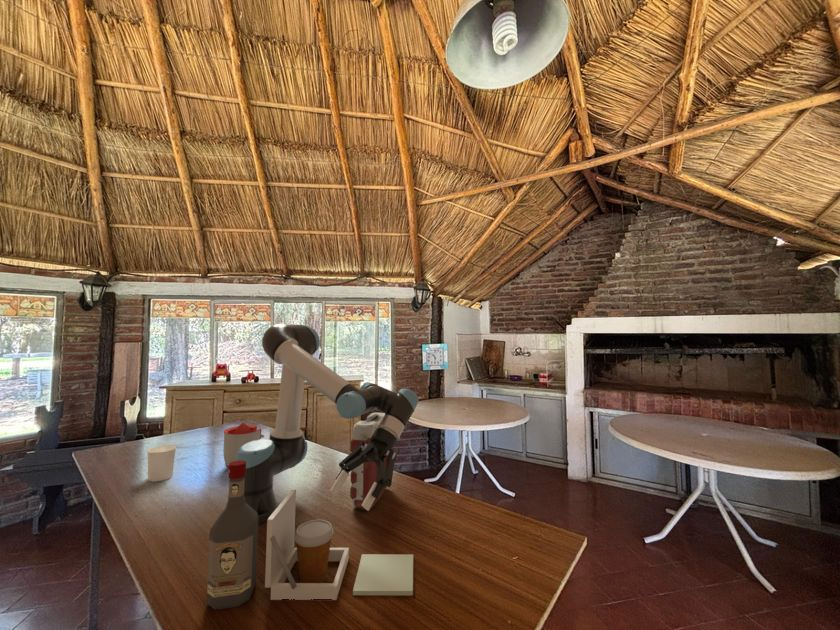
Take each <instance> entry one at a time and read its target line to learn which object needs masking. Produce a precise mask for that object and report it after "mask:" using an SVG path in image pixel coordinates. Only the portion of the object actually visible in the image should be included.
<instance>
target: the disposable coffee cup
mask: <svg viewBox="0 0 840 630" xmlns="http://www.w3.org/2000/svg"><path fill="white" fill-rule="evenodd" d="M334 532H335V531H334V528H333V525H332V523H331V522H330V521H329V520H326V519H311V520H308V521H305V522H303V523H301V524H299V525H298V527H297V528H296V529H295V535H294V542H295V545H296V547H297V556H298V561H297V565H298V566H297V567H298V574H299V575H298V576H299V583H324V582H323V581H324V580H326V577H327V571H328V564H329V561H328V558H329V551H330V548H331V543H332V542H331V541H332V538H333V535H334Z"/></svg>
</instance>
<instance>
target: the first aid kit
mask: <svg viewBox="0 0 840 630" xmlns="http://www.w3.org/2000/svg"><path fill="white" fill-rule="evenodd" d="M384 415H385V413H382V412H372V413H370V414H369V415H367V417H366V419H365V420H358V422H356V423H355V424H354V425H353V428H352V439H351V440H350V450H349V451H350V453H352V452H353V451H354V450H355V449H356V448H357V447H358V446H359V445H360V443H361V442H362V441H364V442H365V444H367V445H368V444H369V443H370V442H371V436H372V435H373V433H374V432H375V430H376V428H378V425H379V423H380V422H381V420H382V418H383V417H384ZM365 456H366V455H365ZM386 460H387V457H386V458H385V459H384V462H385V466H386ZM385 466H384V471H385ZM376 480H377V467H376V464H375V463H374V462H369V461H368V462H364V463H363V464H361V465H360V466H358V467H356V468H355V469H353V470H352V471H350V482H351V486H350V488H349V489H350V491H349V492H350V493H349V497H350V499H351V500H350V502H351V504H352V506H353V508H356V509H359V510H363V511H364V510H366V509H365V508H364V507H363V506H362V503H363V501H364V499H365V498H366V496H367V494H368V492H369V491H370V489H371V487H372V485H373V483H374V482H376V483H377V481H376ZM377 484H378V483H377ZM387 488H388V486H385V487H384V488H383V489H382V490H381V492H380V494H379V496H378V497H377V498H375V500H374V502H373V504H372V505H371V507H370V509H369V510H371V509H373V507H374V506H375V505H376V503H378V502H379V500H380V499H381V498H382V497H383V495H384V492H385V491H386V489H387ZM366 511H367V510H366Z"/></svg>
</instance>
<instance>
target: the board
mask: <svg viewBox="0 0 840 630" xmlns="http://www.w3.org/2000/svg"><path fill="white" fill-rule="evenodd" d="M352 596H414V554H413V553H411V554H395V553H390V554H389V553H387V554H384V553H383V554H381V553H380V554H379V553H377V554H375V553H374V554H370V553H368V554H363V553H362V554H361V557H360V561H359V564H358V569H357V574H356V577H355V580H354V585H353V589H352Z"/></svg>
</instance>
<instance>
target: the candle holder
mask: <svg viewBox="0 0 840 630" xmlns="http://www.w3.org/2000/svg"><path fill="white" fill-rule="evenodd" d="M176 451H177V446H176V445H160V446H155V447H151V448H149V449H148V450H147V481H148V482H151V481H152V482H154V483H155V482H163V481H166V480H168V479H171V478H172V477H173V474H174V467H175V466H174V465H175V456H176Z"/></svg>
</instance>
